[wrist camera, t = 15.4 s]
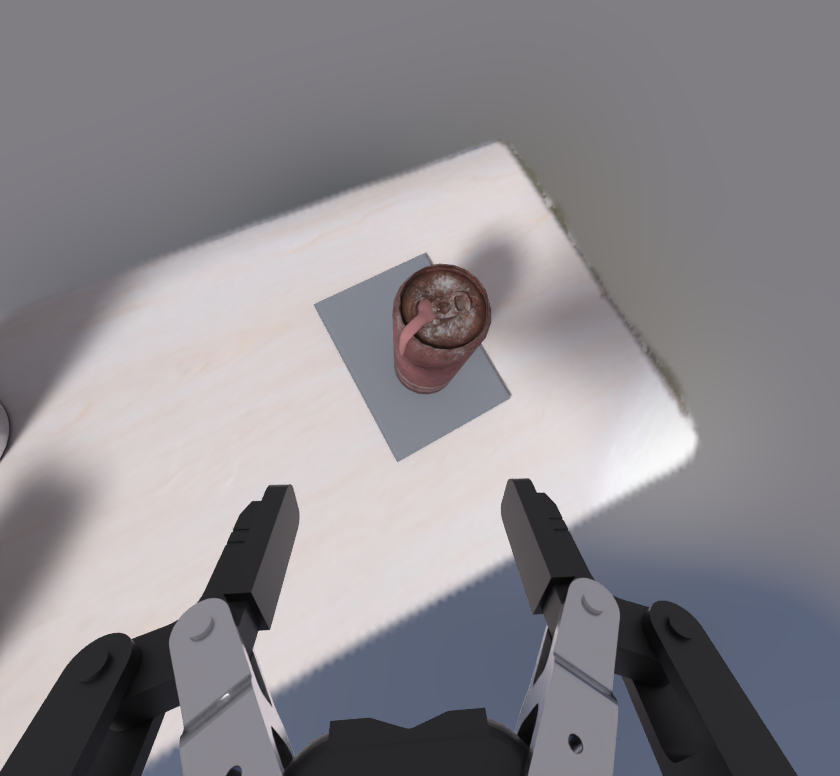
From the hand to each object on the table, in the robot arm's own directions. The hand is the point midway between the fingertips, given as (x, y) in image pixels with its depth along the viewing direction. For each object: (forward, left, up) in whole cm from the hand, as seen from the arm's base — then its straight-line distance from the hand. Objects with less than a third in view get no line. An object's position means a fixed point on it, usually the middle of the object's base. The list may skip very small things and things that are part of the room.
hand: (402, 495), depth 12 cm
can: (+7, +7, -19) cm, 21 cm away
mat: (+7, +9, -19) cm, 22 cm away
